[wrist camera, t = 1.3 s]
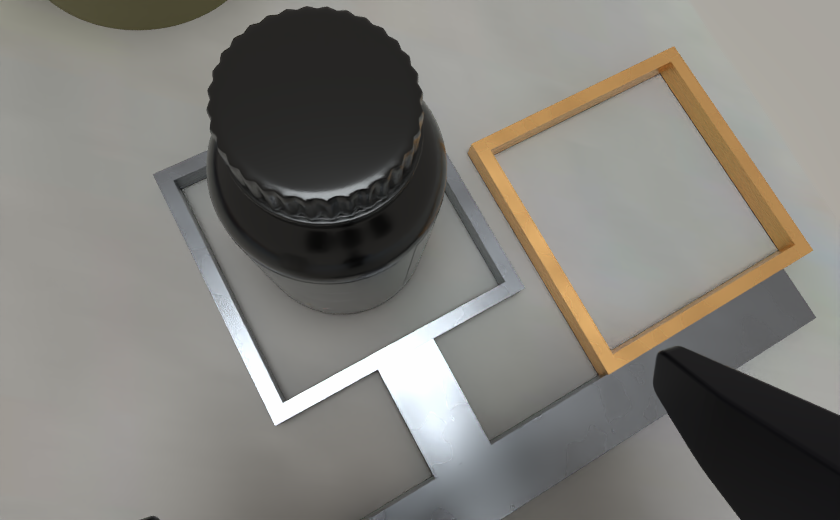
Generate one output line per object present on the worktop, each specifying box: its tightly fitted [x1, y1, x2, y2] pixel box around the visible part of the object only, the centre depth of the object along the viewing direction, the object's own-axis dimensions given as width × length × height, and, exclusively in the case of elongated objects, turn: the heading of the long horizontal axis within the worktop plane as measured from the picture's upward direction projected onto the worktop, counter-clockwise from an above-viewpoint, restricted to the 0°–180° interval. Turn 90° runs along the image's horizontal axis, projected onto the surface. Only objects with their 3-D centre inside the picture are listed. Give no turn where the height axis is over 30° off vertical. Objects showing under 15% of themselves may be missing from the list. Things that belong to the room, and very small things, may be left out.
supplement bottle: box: [206, 6, 447, 314], centre depth 18 cm, size 7×7×12 cm
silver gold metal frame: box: [153, 47, 816, 520], centre depth 24 cm, size 18×24×1 cm
